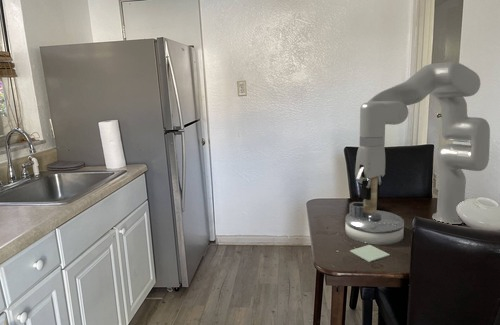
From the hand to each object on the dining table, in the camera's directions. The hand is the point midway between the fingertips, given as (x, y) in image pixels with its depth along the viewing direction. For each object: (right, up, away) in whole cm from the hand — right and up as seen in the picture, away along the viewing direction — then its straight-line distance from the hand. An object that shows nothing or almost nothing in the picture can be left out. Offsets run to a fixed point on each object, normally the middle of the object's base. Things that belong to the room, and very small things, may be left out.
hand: (370, 197), depth 113 cm
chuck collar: (+8, -12, +20) cm, 24 cm away
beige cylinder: (0, -5, +1) cm, 5 cm away
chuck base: (+8, -16, +20) cm, 27 cm away
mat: (+1, -19, +4) cm, 20 cm away
